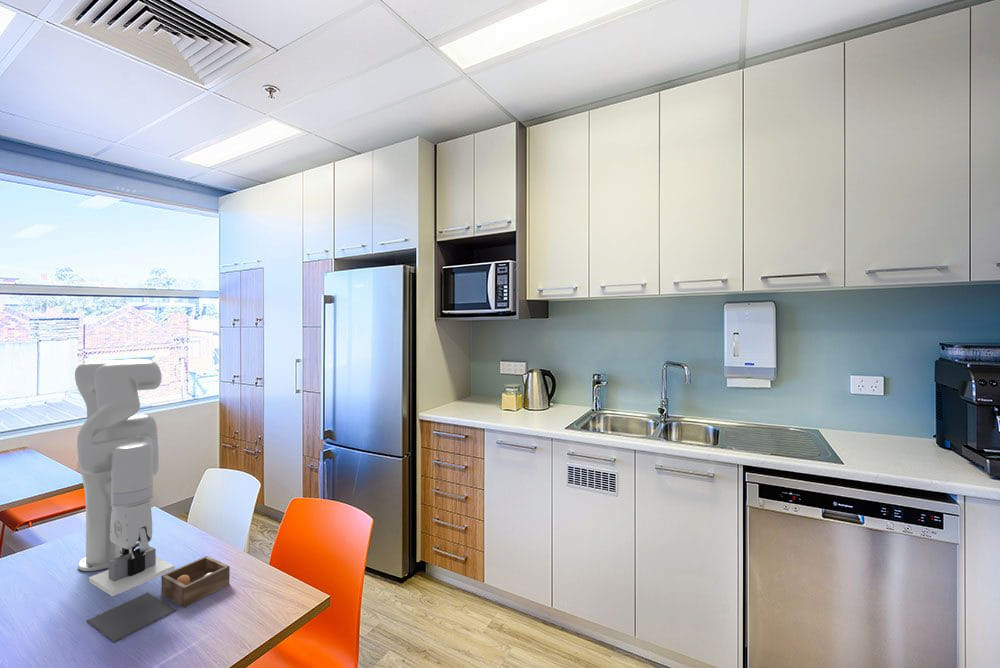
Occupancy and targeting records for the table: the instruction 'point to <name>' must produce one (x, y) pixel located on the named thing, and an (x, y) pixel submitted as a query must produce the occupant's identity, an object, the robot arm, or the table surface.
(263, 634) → the table surface
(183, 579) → the orange ball
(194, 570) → the box
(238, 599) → the table surface
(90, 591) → the table surface
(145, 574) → the lid
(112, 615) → the mat
